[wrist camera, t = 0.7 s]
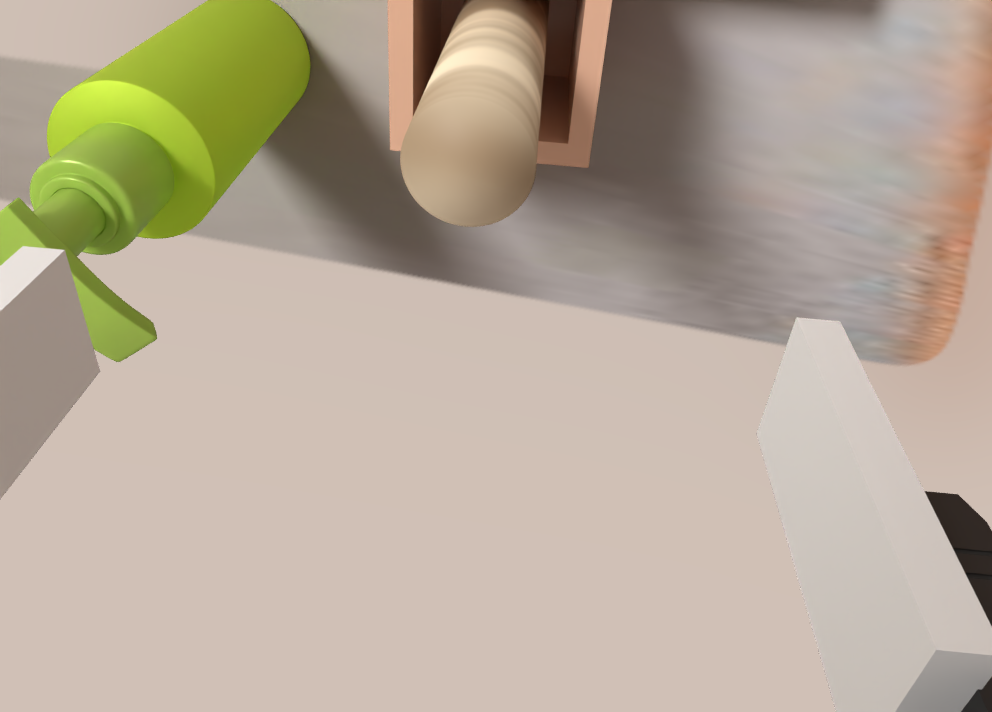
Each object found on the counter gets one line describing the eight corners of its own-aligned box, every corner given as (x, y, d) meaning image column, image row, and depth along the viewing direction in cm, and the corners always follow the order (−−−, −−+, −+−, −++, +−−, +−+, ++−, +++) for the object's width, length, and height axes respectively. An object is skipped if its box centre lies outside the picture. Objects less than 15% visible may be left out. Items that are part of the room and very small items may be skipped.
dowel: (470, -45, 34) (399, 91, 20) (553, -38, 34) (542, 103, 20) (466, 41, 37) (400, 220, 22) (544, 48, 37) (529, 232, 22)
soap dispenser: (262, 153, 42) (69, 398, 25) (164, 36, 38) (-128, 231, 22) (349, 93, 39) (197, 320, 23) (252, -36, 36) (-1, 122, 20)
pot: (425, -108, 34) (386, -73, 27) (608, -92, 34) (619, -54, 27) (423, 78, 39) (389, 149, 31) (584, 92, 38) (588, 167, 31)
